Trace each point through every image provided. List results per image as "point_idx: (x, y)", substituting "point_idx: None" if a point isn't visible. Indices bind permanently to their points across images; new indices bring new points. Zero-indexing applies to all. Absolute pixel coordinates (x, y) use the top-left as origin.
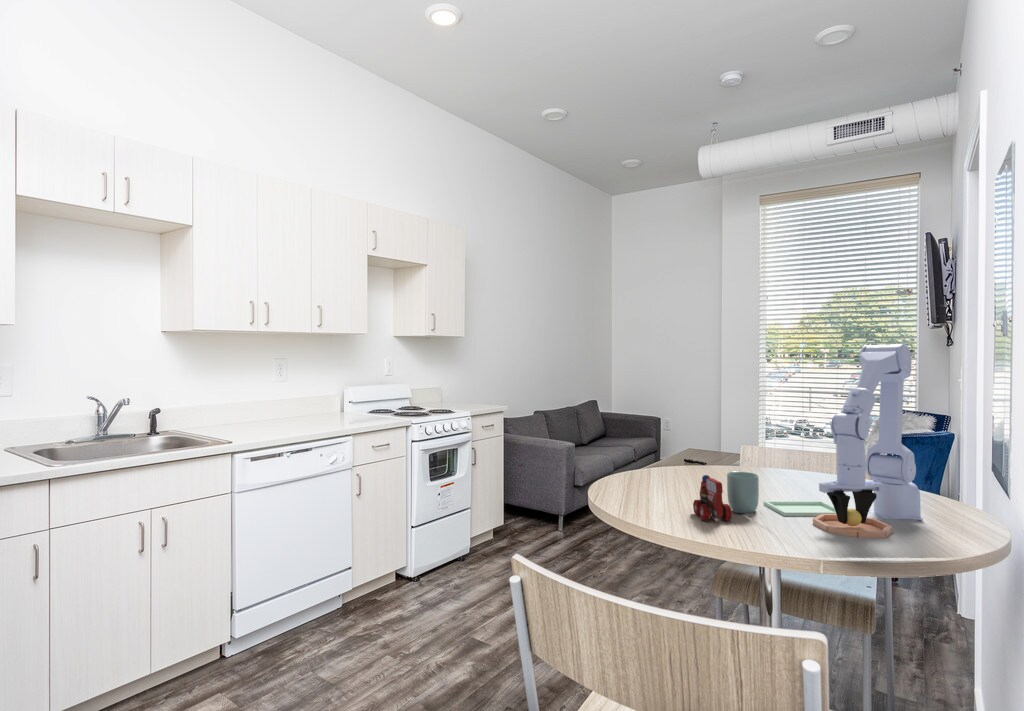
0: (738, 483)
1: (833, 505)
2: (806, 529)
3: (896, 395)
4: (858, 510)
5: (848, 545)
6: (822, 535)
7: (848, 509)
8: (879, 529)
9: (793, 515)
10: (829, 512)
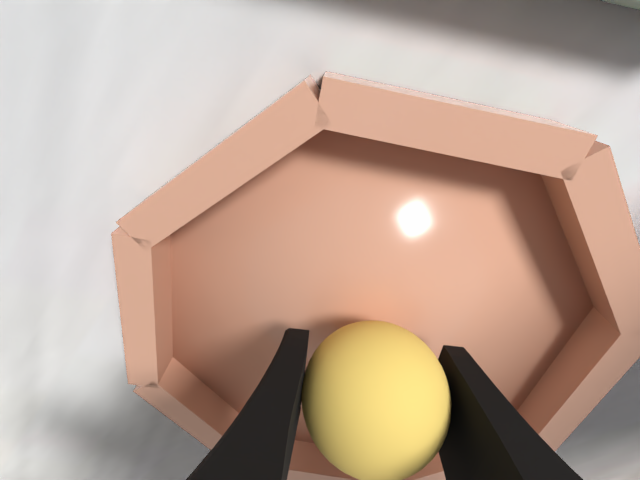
0: None
1: (224, 434)
2: (66, 250)
3: None
4: (474, 441)
5: (165, 462)
6: (117, 356)
7: (351, 459)
8: (503, 389)
9: None
10: None
